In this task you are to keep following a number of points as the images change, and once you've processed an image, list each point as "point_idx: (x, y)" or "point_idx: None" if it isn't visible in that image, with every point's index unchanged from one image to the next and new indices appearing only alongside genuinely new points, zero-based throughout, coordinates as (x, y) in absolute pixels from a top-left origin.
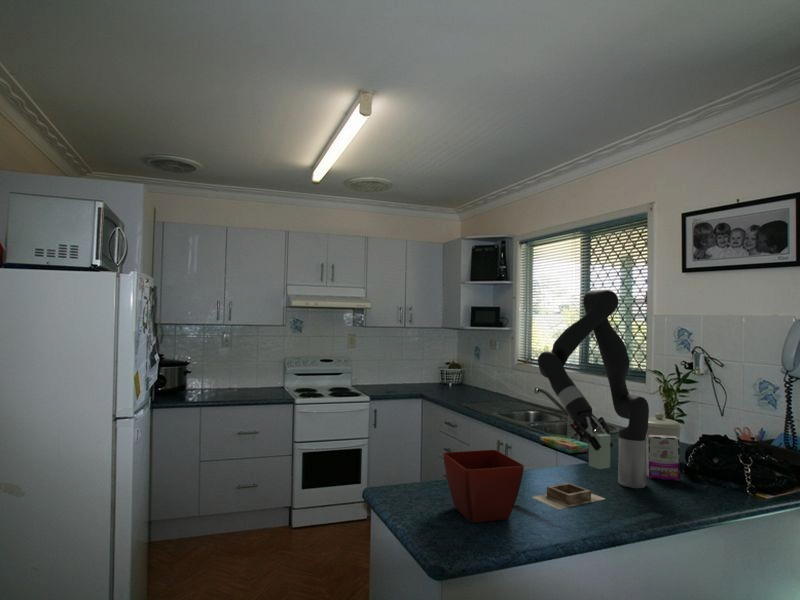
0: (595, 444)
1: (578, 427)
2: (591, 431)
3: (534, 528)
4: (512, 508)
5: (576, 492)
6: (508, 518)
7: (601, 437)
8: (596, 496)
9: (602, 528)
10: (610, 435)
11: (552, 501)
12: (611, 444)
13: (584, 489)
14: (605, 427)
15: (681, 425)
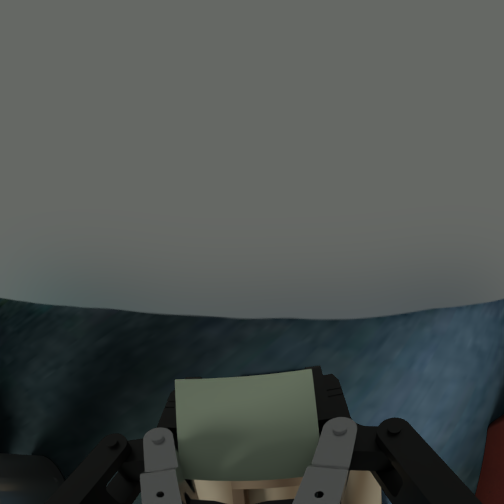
0: (339, 382)
1: (447, 480)
2: (322, 457)
3: (469, 376)
4: (501, 416)
5: (288, 485)
6: (490, 424)
7: (291, 372)
8: (197, 484)
9: (334, 345)
10: (178, 379)
11: (352, 494)
12: (198, 378)
13: (241, 494)
14: (106, 468)
15: None
